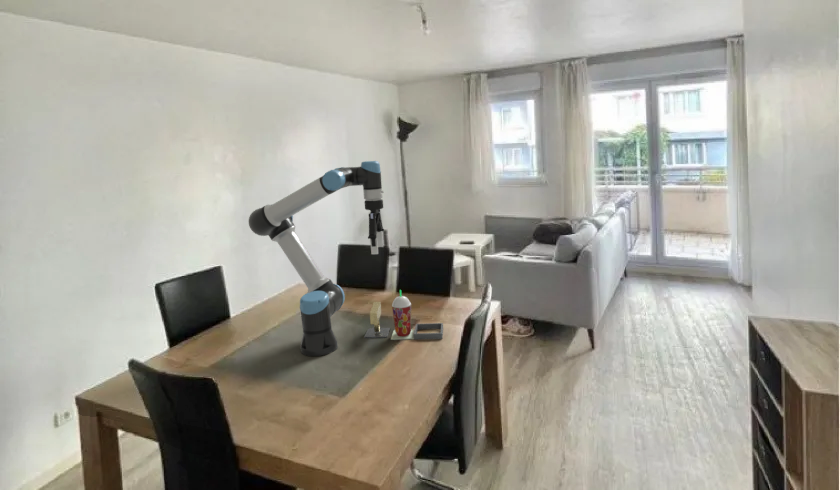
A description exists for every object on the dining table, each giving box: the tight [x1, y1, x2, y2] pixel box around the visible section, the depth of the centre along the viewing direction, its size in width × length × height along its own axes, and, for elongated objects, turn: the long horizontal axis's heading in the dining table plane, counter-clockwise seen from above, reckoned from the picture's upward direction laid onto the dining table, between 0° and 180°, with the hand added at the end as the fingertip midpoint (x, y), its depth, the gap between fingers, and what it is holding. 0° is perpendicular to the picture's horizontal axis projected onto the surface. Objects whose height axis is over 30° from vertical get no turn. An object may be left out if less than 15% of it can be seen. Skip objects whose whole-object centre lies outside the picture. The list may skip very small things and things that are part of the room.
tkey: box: [369, 301, 382, 332], centre depth 218 cm, size 15×3×11 cm, turn 178°
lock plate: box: [363, 327, 391, 339], centre depth 220 cm, size 10×10×1 cm
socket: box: [413, 322, 444, 341], centre depth 215 cm, size 12×12×2 cm
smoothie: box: [391, 289, 412, 336], centre depth 214 cm, size 8×8×20 cm
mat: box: [390, 329, 415, 341], centre depth 216 cm, size 10×10×1 cm
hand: (377, 250), depth 206 cm, fingers open, 13 cm apart
